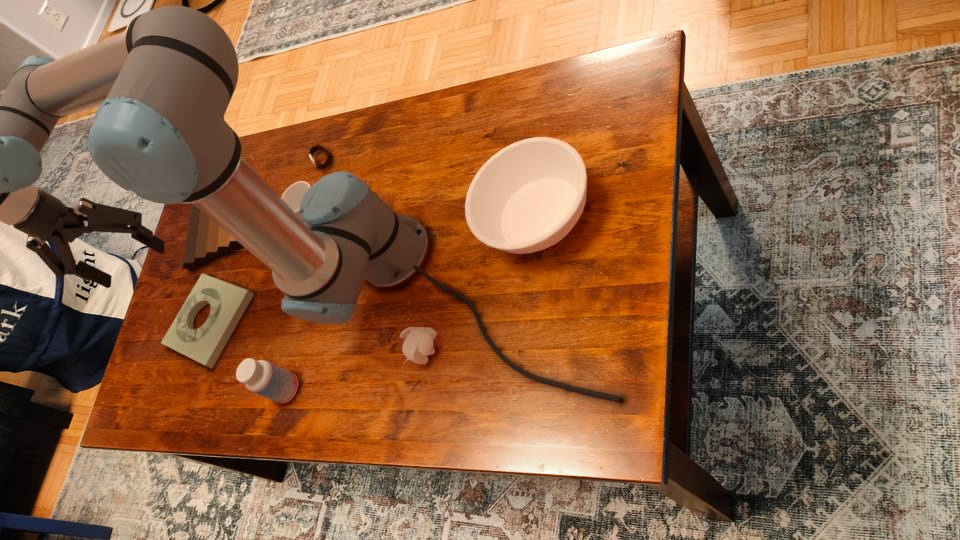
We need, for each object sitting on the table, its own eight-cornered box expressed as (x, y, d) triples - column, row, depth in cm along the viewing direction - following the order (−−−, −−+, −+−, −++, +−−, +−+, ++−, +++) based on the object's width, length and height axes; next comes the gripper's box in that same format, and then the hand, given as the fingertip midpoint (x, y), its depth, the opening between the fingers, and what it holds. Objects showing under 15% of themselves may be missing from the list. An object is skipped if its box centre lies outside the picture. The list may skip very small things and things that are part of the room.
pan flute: (199, 192, 172) (189, 271, 159) (189, 185, 170) (178, 265, 156) (274, 154, 165) (270, 234, 151) (264, 146, 162) (260, 226, 149)
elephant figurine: (453, 342, 115) (436, 329, 110) (426, 379, 114) (408, 368, 109) (429, 324, 119) (411, 311, 114) (402, 361, 118) (384, 349, 113)
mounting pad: (254, 293, 144) (248, 290, 143) (212, 368, 140) (205, 365, 138) (208, 276, 155) (201, 273, 153) (167, 346, 150) (160, 343, 148)
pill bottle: (305, 380, 126) (264, 361, 117) (287, 409, 125) (245, 391, 116) (286, 368, 130) (245, 349, 121) (269, 396, 128) (227, 378, 120)
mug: (299, 245, 145) (261, 218, 135) (310, 212, 148) (274, 183, 139) (341, 242, 139) (303, 214, 130) (351, 208, 142) (316, 177, 133)
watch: (311, 157, 157) (301, 148, 154) (326, 145, 157) (317, 136, 154) (320, 176, 153) (310, 167, 150) (335, 163, 152) (326, 154, 149)
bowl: (512, 158, 128) (494, 131, 121) (619, 169, 115) (605, 141, 108) (466, 259, 122) (444, 237, 115) (574, 283, 109) (556, 260, 102)
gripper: (82, 152, 107) (185, 218, 124) (-23, 227, 113) (90, 280, 129) (77, 184, 103) (186, 248, 119) (-31, 260, 108) (86, 311, 125)
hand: (136, 265), depth 124 cm, fingers open, 13 cm apart
